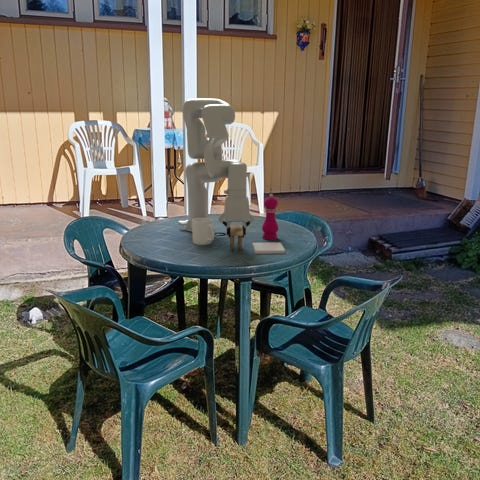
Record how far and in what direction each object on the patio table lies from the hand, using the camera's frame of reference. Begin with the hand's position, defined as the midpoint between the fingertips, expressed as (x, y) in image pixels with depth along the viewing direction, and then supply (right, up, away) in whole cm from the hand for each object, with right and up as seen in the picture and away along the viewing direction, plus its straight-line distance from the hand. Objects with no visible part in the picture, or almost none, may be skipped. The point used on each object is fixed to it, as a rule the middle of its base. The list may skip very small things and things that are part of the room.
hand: (236, 236), depth 203 cm
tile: (+13, -5, 0) cm, 14 cm away
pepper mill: (+15, -1, +17) cm, 23 cm away
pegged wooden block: (0, -5, +1) cm, 5 cm away
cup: (-13, -3, +8) cm, 16 cm away
